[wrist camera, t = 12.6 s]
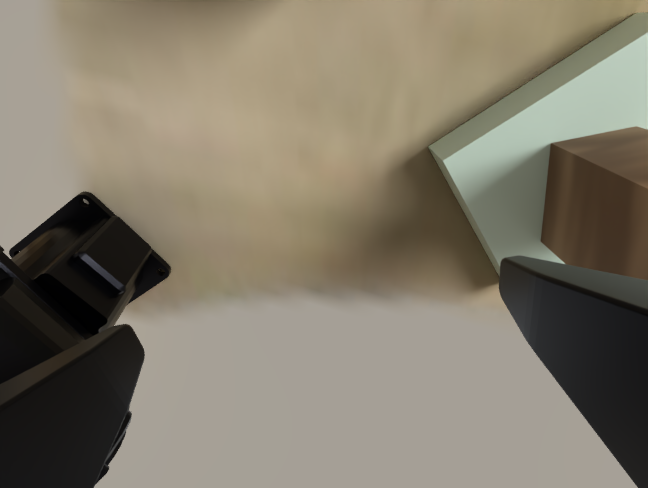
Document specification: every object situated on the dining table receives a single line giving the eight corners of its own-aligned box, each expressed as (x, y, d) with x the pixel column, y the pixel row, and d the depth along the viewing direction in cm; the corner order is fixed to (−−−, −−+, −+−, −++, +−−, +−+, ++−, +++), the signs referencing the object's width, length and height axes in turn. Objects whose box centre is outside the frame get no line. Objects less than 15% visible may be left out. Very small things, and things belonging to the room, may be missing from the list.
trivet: (502, 282, 26) (521, 306, 23) (428, 146, 21) (442, 160, 19) (676, 191, 23) (715, 209, 21) (636, 12, 18) (681, 10, 16)
